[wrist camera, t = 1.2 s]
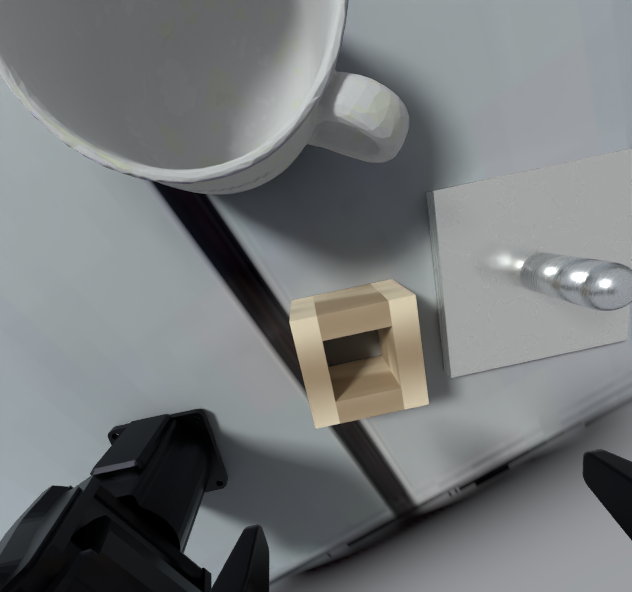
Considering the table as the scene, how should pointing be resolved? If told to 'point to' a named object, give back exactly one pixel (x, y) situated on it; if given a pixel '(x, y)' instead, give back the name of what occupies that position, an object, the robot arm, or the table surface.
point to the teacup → (196, 86)
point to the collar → (368, 374)
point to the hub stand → (533, 262)
